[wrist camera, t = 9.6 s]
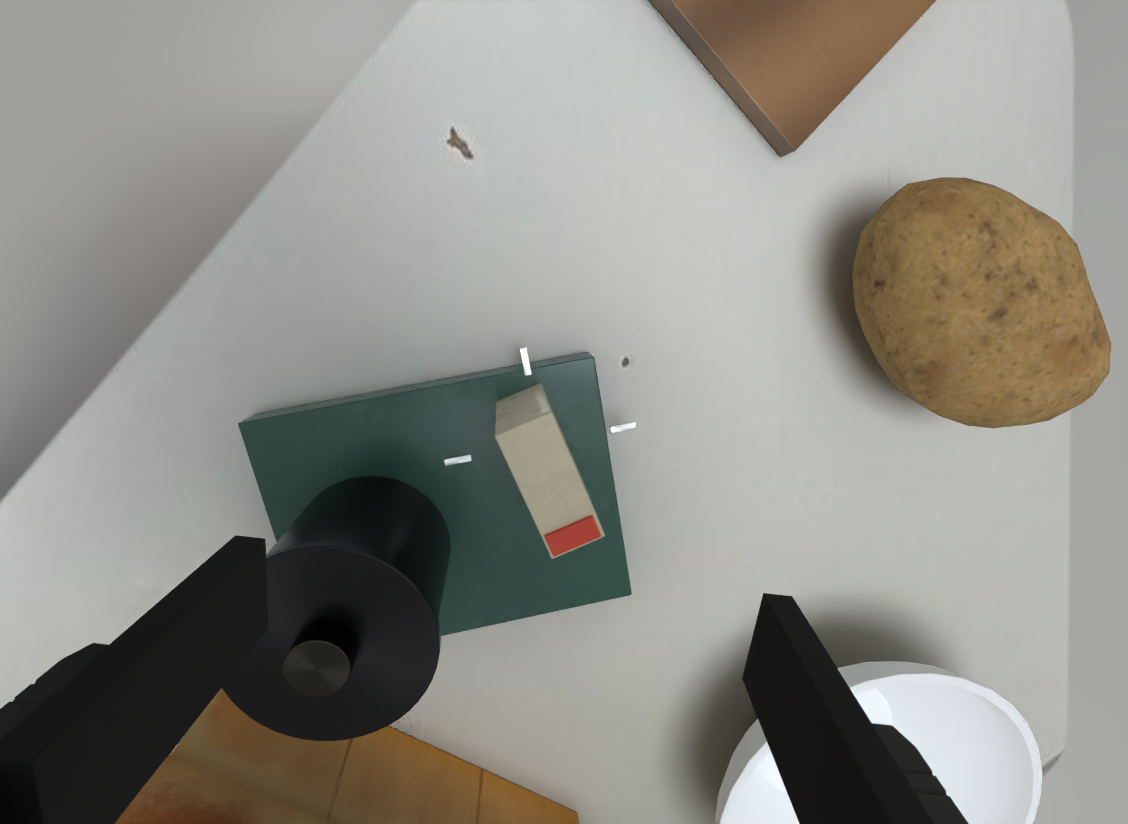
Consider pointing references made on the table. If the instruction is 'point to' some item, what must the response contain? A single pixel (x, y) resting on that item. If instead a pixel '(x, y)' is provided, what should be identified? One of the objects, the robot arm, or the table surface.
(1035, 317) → the potato
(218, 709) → the bread
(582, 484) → the cream juice carton
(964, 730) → the bowl
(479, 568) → the green rectangular slab
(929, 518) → the table surface
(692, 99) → the table surface
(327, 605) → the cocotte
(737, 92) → the board
